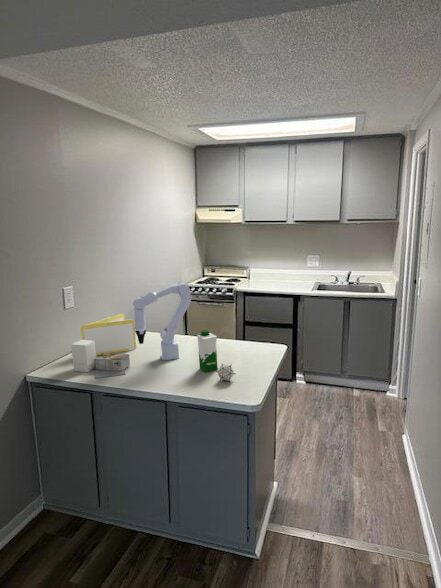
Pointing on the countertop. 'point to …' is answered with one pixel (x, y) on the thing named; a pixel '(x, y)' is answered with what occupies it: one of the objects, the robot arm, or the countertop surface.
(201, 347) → the milk carton
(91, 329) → the yellow rectangular frame
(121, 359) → the coffee box
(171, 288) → the robot arm
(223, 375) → the spiky ball ornament
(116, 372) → the mat
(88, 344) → the supplement box
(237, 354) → the countertop surface
